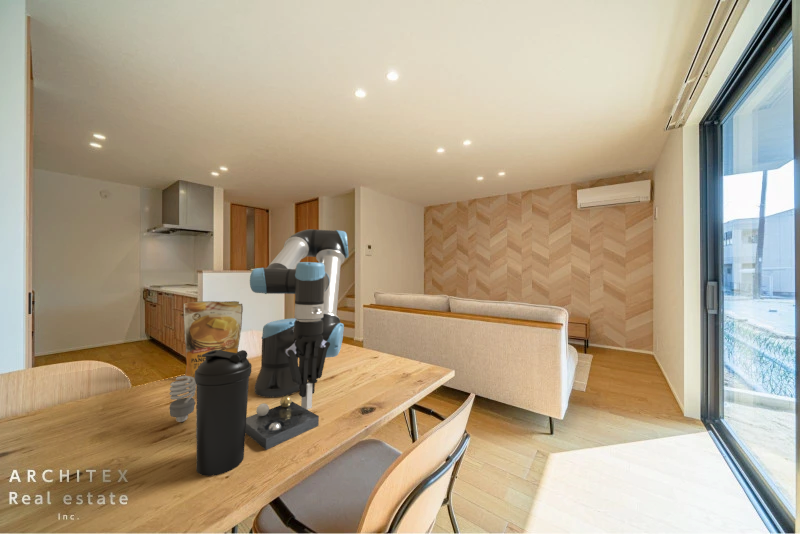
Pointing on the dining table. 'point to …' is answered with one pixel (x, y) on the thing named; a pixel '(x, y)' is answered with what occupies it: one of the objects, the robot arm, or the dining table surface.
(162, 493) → the dining table surface
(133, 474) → the dining table surface
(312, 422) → the plate
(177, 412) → the light bulb
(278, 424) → the steel ball
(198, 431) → the water bottle
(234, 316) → the pancake mix bag
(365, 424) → the dining table surface
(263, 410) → the white plastic ball
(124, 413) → the dining table surface
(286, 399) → the brass ball
